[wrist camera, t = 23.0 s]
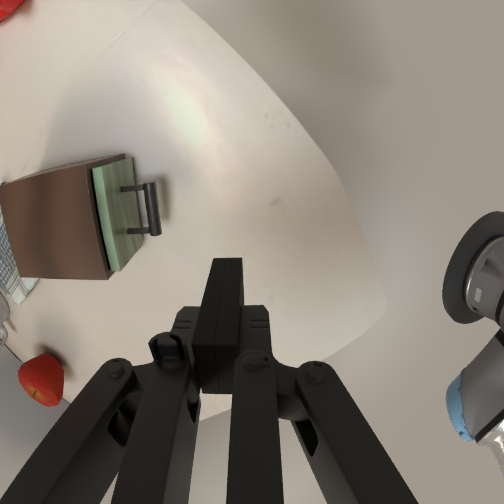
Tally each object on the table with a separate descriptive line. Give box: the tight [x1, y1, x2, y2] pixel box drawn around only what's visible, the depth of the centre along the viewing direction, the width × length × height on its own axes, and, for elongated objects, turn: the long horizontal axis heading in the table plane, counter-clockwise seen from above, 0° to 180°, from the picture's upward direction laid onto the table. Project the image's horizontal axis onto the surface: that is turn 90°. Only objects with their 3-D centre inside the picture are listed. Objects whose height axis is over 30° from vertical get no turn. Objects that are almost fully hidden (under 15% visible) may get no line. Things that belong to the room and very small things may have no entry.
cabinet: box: [0, 154, 125, 280], centre depth 29 cm, size 16×13×10 cm
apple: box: [18, 354, 64, 407], centre depth 42 cm, size 11×11×12 cm
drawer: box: [90, 158, 162, 271], centre depth 29 cm, size 19×11×8 cm, turn 91°
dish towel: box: [0, 183, 39, 305], centre depth 35 cm, size 19×18×3 cm
